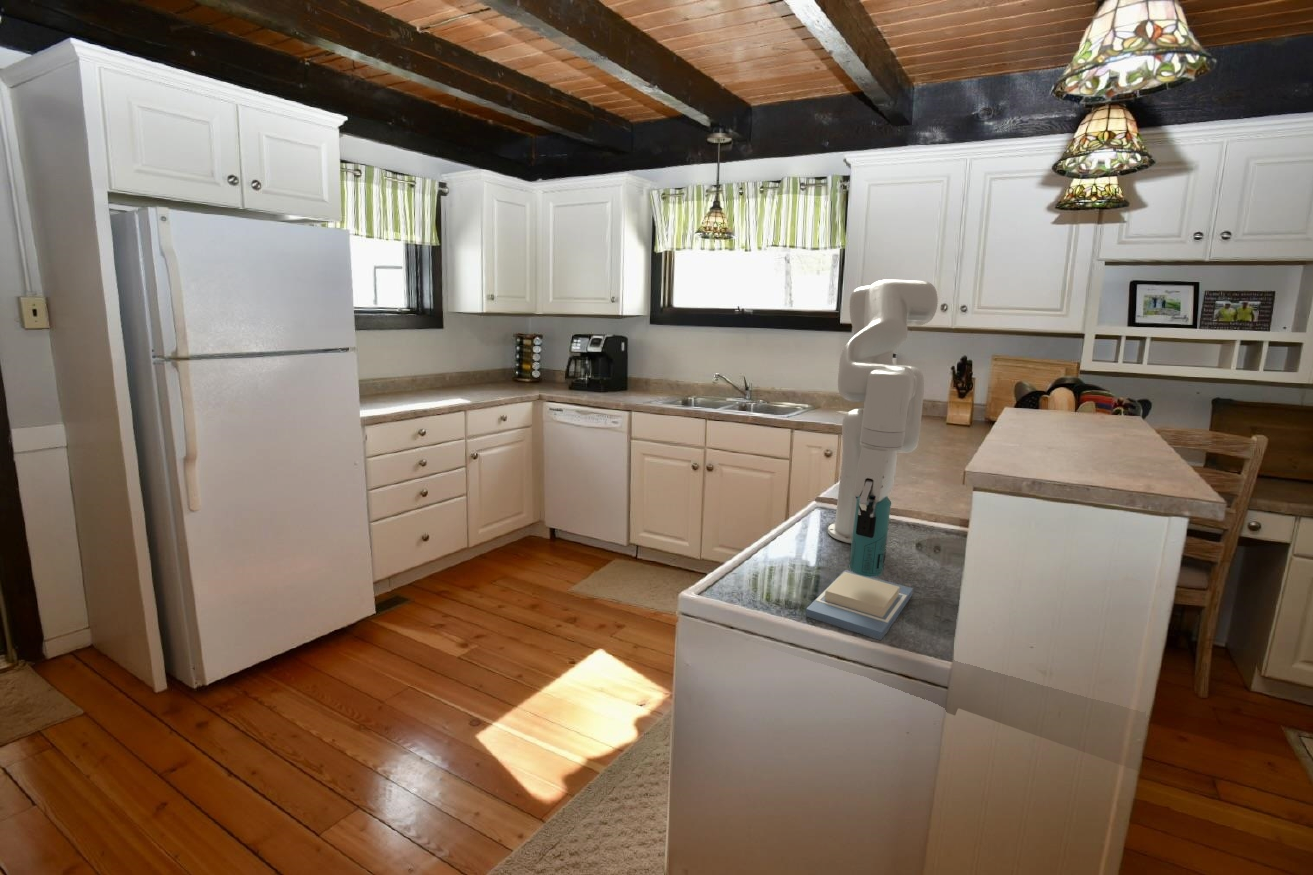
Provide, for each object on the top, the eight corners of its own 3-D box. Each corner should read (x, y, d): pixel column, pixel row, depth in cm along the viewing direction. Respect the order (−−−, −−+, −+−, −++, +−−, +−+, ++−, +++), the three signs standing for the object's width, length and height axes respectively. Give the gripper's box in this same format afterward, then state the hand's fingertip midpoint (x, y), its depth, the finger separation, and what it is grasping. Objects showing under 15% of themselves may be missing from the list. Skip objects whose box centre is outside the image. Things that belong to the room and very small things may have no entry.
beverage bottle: (877, 587, 128) (891, 484, 124) (842, 578, 132) (854, 477, 127) (886, 575, 134) (899, 476, 129) (852, 567, 137) (864, 469, 132)
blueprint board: (844, 576, 147) (846, 560, 146) (912, 595, 139) (914, 579, 139) (805, 616, 129) (807, 598, 128) (881, 640, 121) (883, 621, 121)
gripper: (875, 427, 135) (864, 514, 139) (846, 442, 121) (835, 538, 125) (914, 433, 131) (902, 522, 136) (889, 450, 117) (877, 549, 121)
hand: (870, 529), depth 130 cm, fingers closed on beverage bottle, 6 cm apart
